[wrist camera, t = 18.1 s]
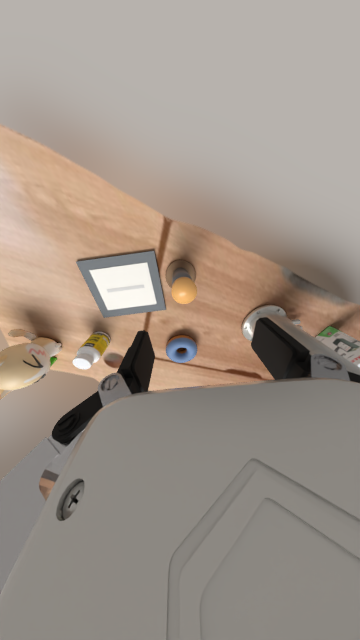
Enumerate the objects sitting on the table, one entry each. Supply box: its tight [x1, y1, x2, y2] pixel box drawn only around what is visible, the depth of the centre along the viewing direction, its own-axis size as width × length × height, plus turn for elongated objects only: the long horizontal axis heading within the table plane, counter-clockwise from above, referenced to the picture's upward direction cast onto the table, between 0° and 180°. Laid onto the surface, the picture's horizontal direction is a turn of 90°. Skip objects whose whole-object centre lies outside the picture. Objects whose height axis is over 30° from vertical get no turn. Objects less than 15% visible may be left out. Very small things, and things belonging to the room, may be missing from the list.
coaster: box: [166, 260, 196, 288], centre depth 30 cm, size 7×7×1 cm
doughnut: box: [166, 335, 197, 363], centre depth 40 cm, size 10×10×5 cm
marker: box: [172, 267, 197, 304], centre depth 25 cm, size 4×4×11 cm
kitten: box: [0, 329, 62, 399], centre depth 33 cm, size 15×10×15 cm
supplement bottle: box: [73, 332, 111, 369], centre depth 35 cm, size 5×5×10 cm
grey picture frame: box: [76, 251, 166, 318], centre depth 31 cm, size 17×14×1 cm
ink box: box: [315, 326, 360, 367], centre depth 38 cm, size 9×5×12 cm, turn 155°
